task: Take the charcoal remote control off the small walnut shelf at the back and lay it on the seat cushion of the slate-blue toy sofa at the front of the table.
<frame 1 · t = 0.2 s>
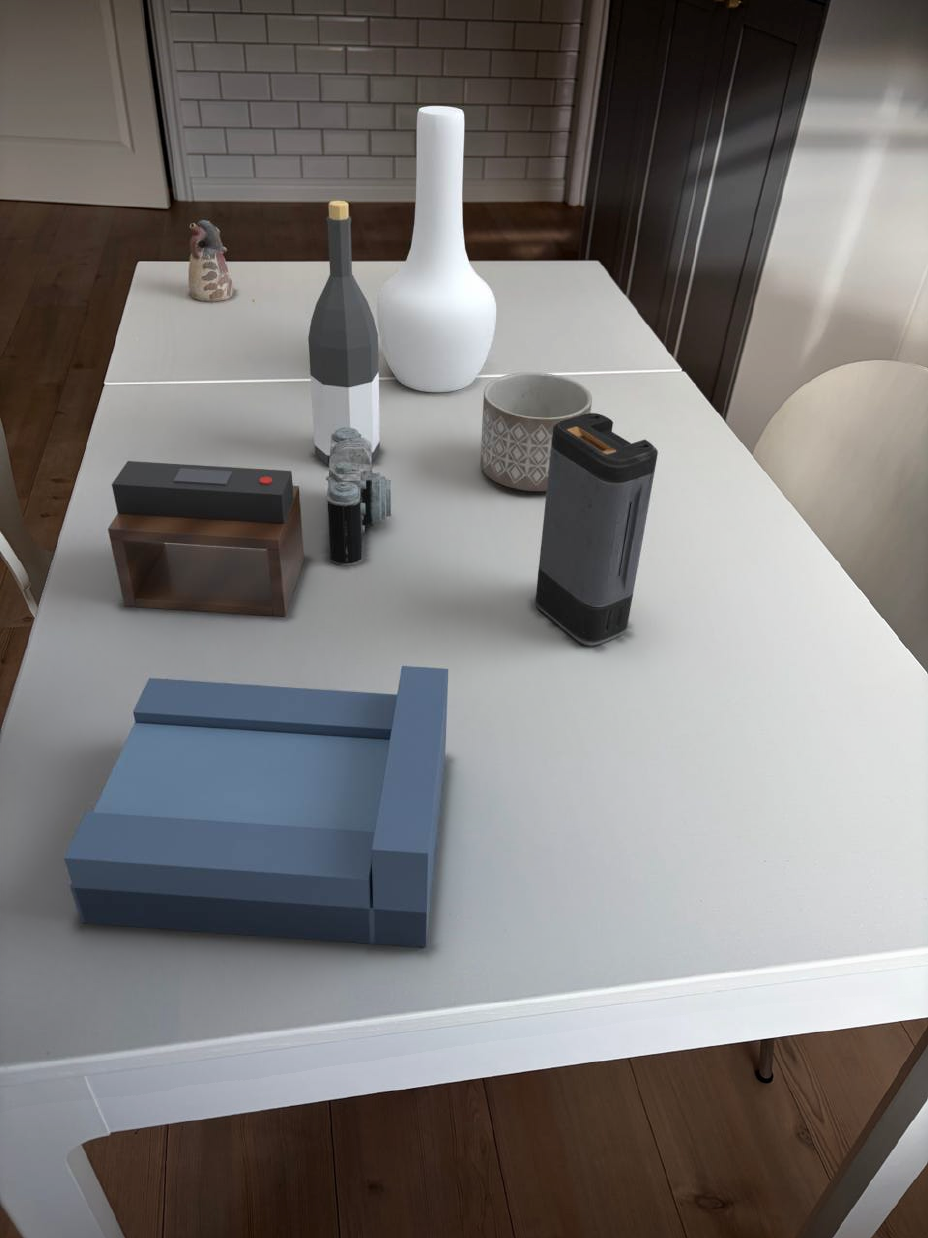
wine bottle: (347, 455, 124), on the table
camera: (360, 529, 111), on the table
sofa: (279, 834, 75), on the table
planter: (530, 474, 122), on the table
figurine: (212, 295, 167), on the table
electronic device: (579, 618, 99), on the table
remote: (207, 506, 96), point 9 cm above the table, touching shelf
shelf: (217, 582, 101), on the table
vase: (435, 377, 144), on the table
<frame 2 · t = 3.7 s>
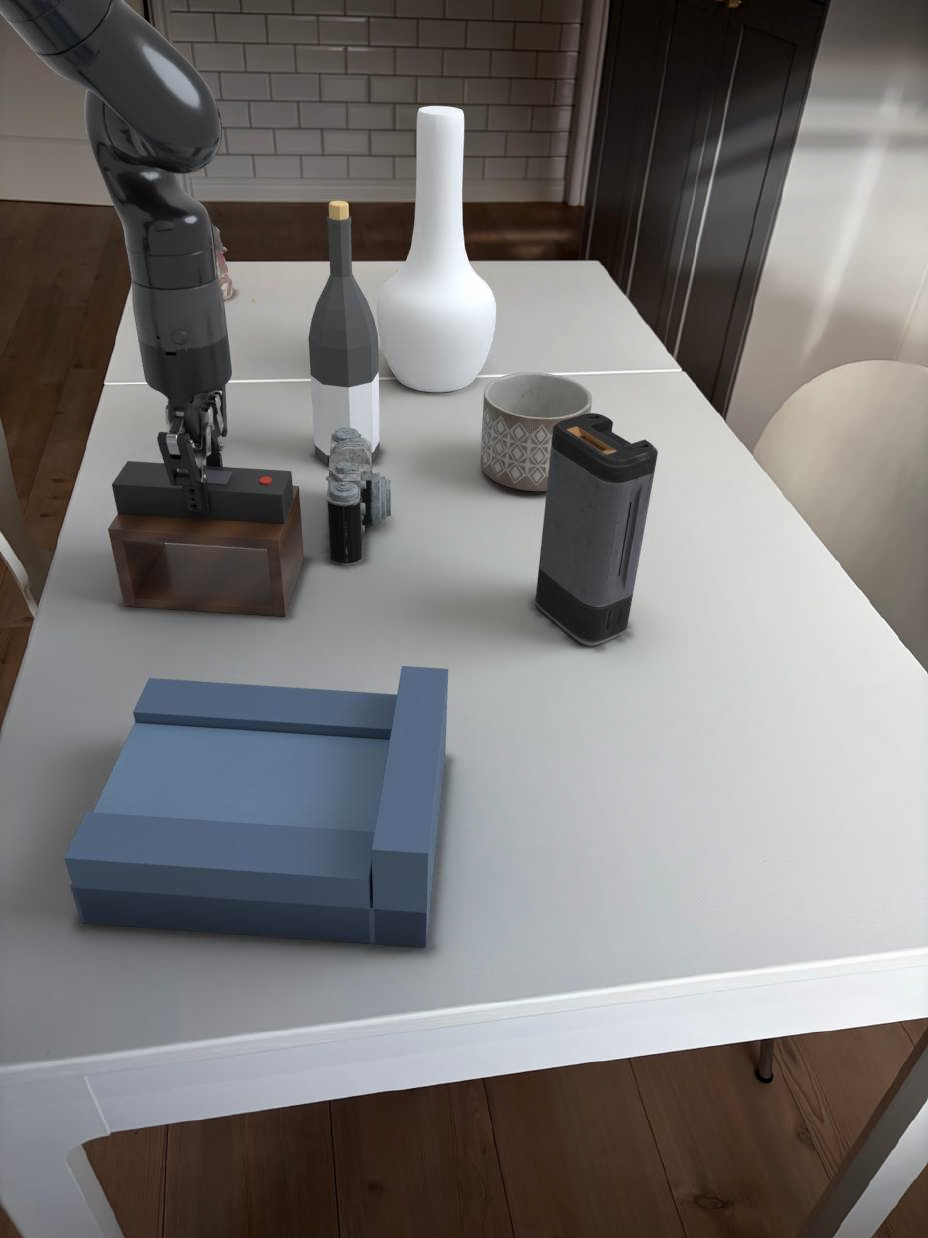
hand: (206, 499, 95), 10 cm above the table, tool pointing down, fingers closed on remote, 4 cm apart
remote: (207, 506, 96), point 9 cm above the table, touching gripper, shelf
everything else where it was.
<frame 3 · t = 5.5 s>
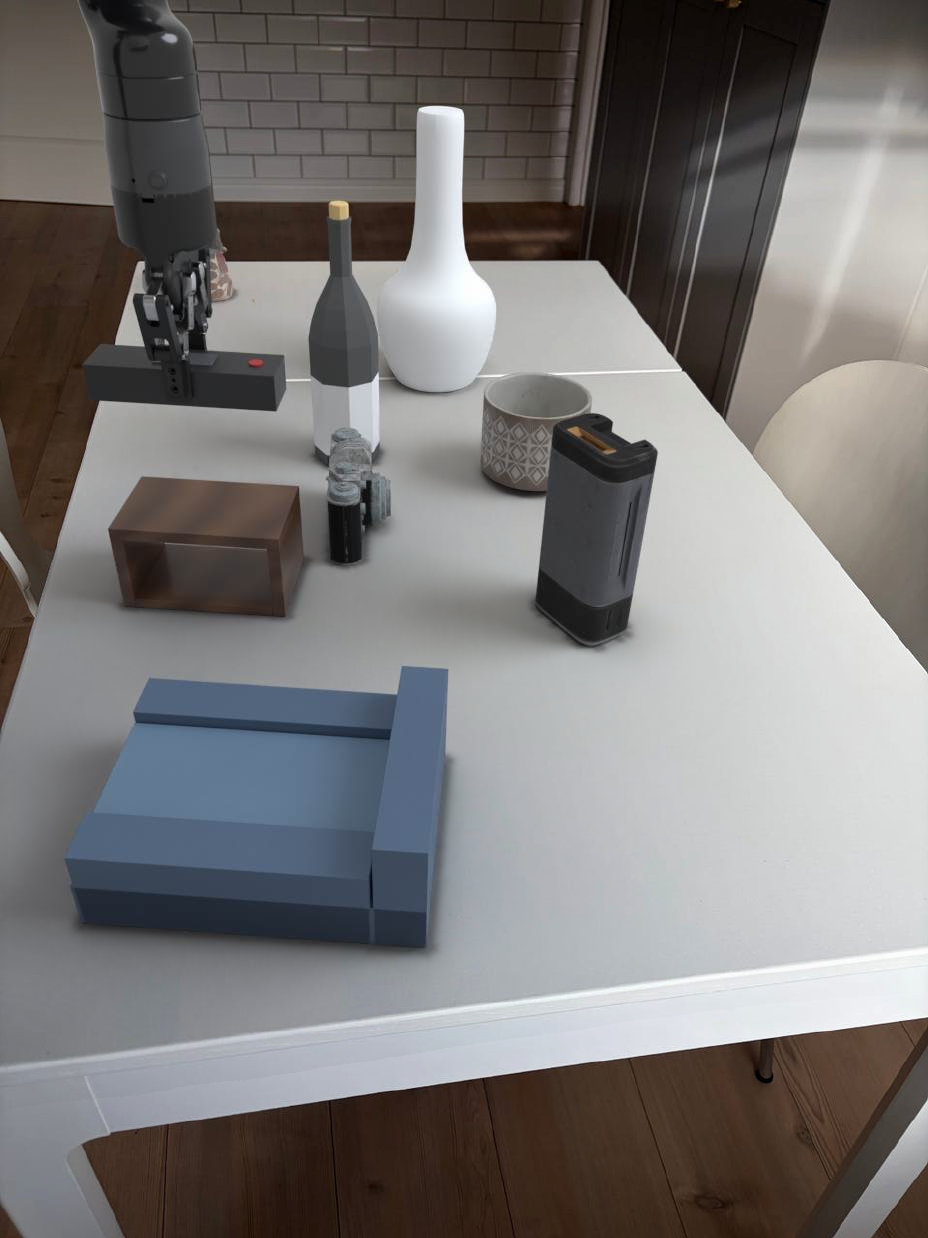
hand: (188, 386, 85), 23 cm above the table, tool pointing down, fingers closed on remote, 4 cm apart
remote: (189, 394, 86), point 22 cm above the table, touching gripper
everything else where it was.
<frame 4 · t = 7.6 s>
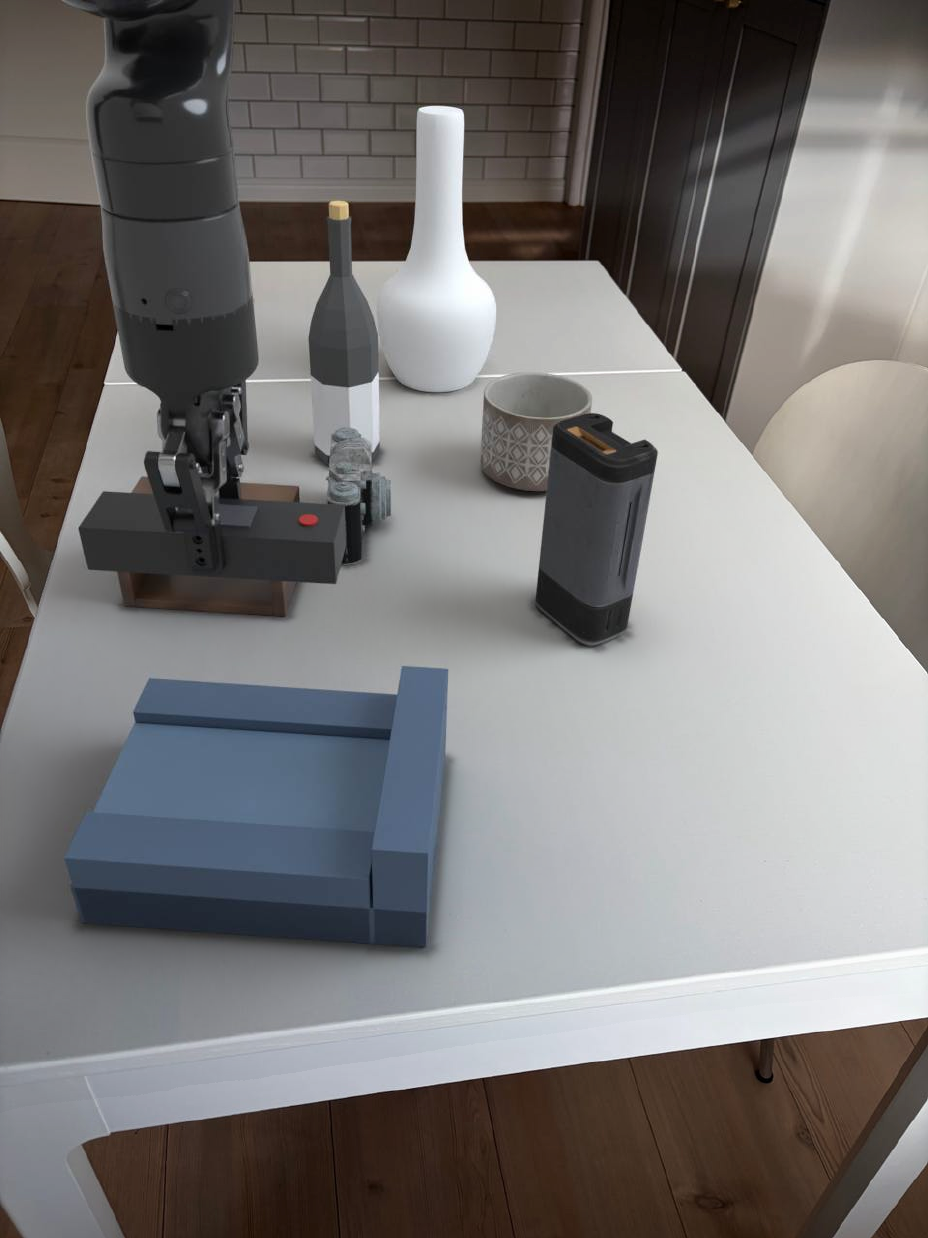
hand: (218, 548, 65), 23 cm above the table, tool pointing down, fingers closed on remote, 4 cm apart
remote: (220, 557, 65), point 22 cm above the table, touching gripper
everything else where it was.
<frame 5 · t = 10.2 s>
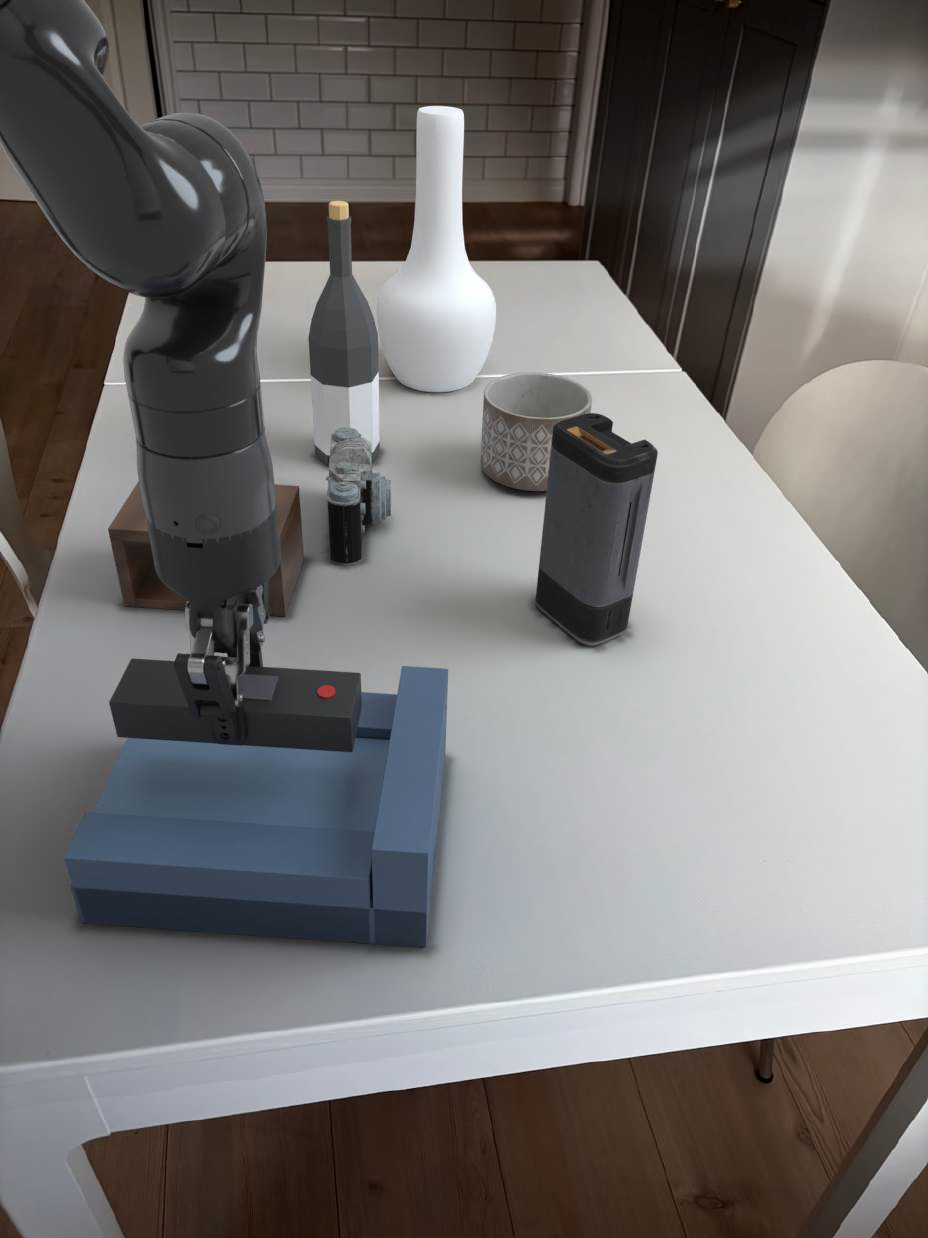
hand: (240, 714, 68), 12 cm above the table, tool pointing down, fingers closed on remote, 4 cm apart
remote: (242, 721, 69), point 12 cm above the table, touching gripper
everything else where it was.
when the fingers open (7 cm above the table, at t = 12.0 s): remote stays where it is, resting on sofa.
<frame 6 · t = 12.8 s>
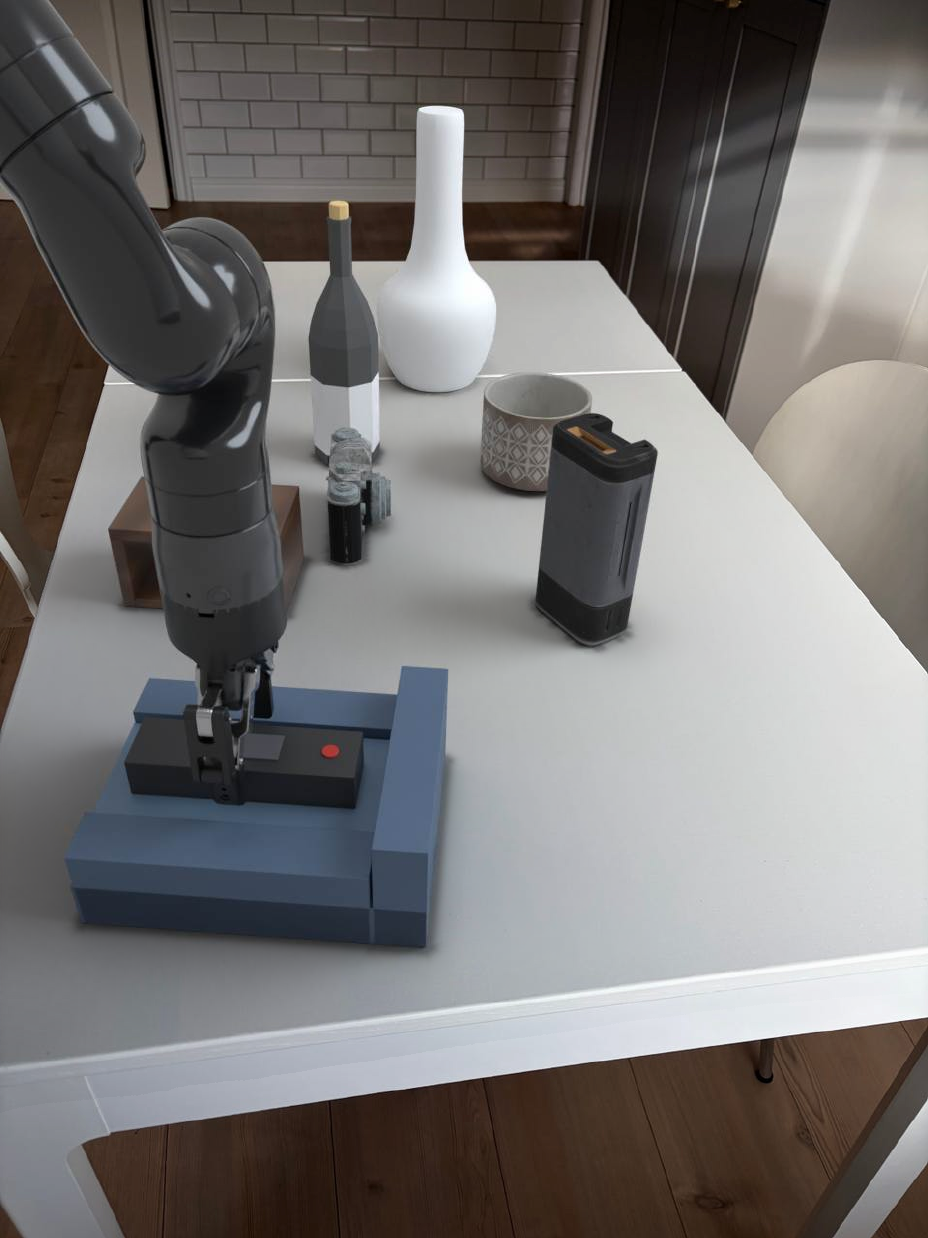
hand: (245, 756, 71), 8 cm above the table, tool pointing down, fingers open, 8 cm apart
remote: (250, 778, 72), point 6 cm above the table, touching sofa
everything else where it was.
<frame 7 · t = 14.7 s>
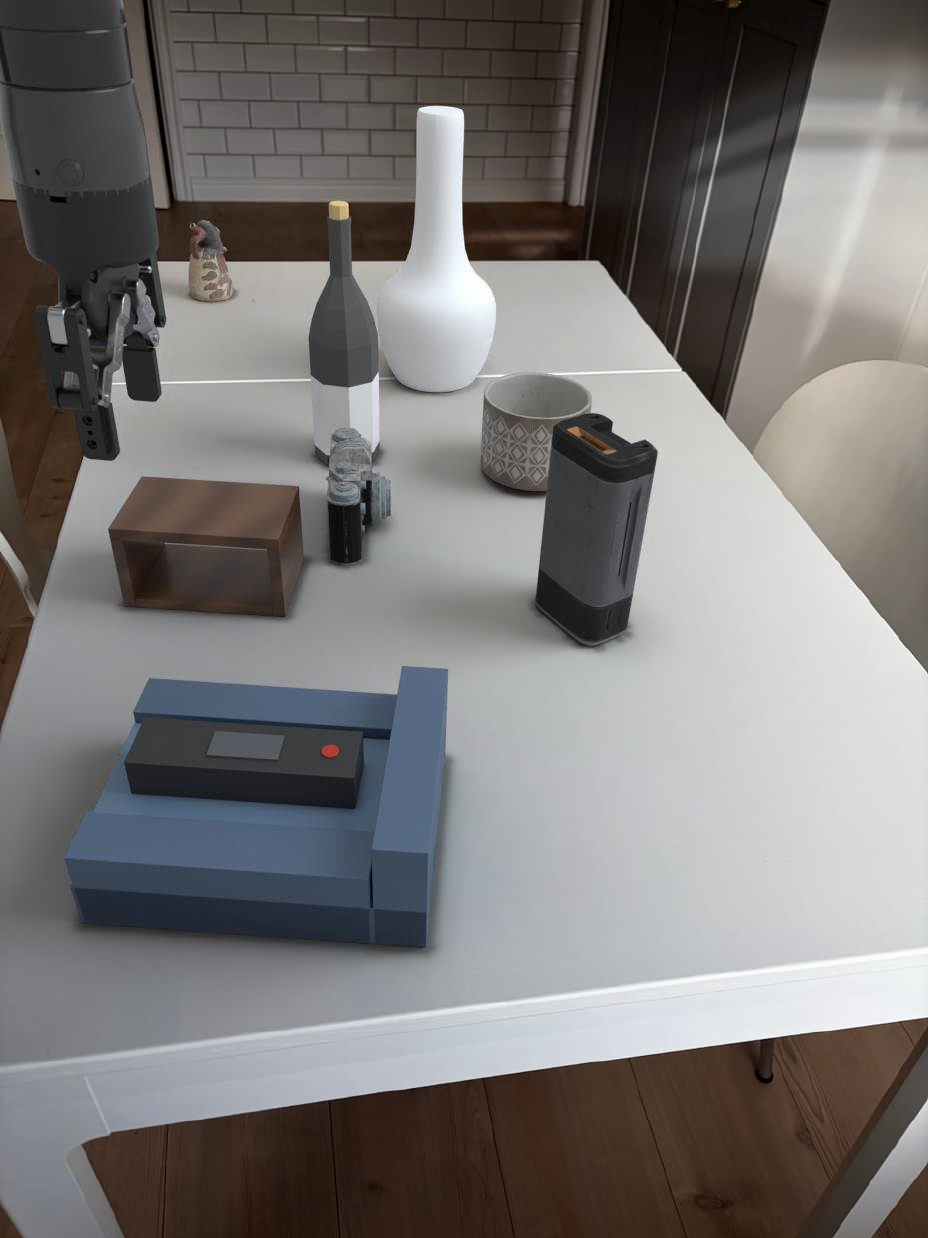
hand: (125, 426, 66), 29 cm above the table, tool pointing down, fingers open, 8 cm apart
nothing on the table moved.
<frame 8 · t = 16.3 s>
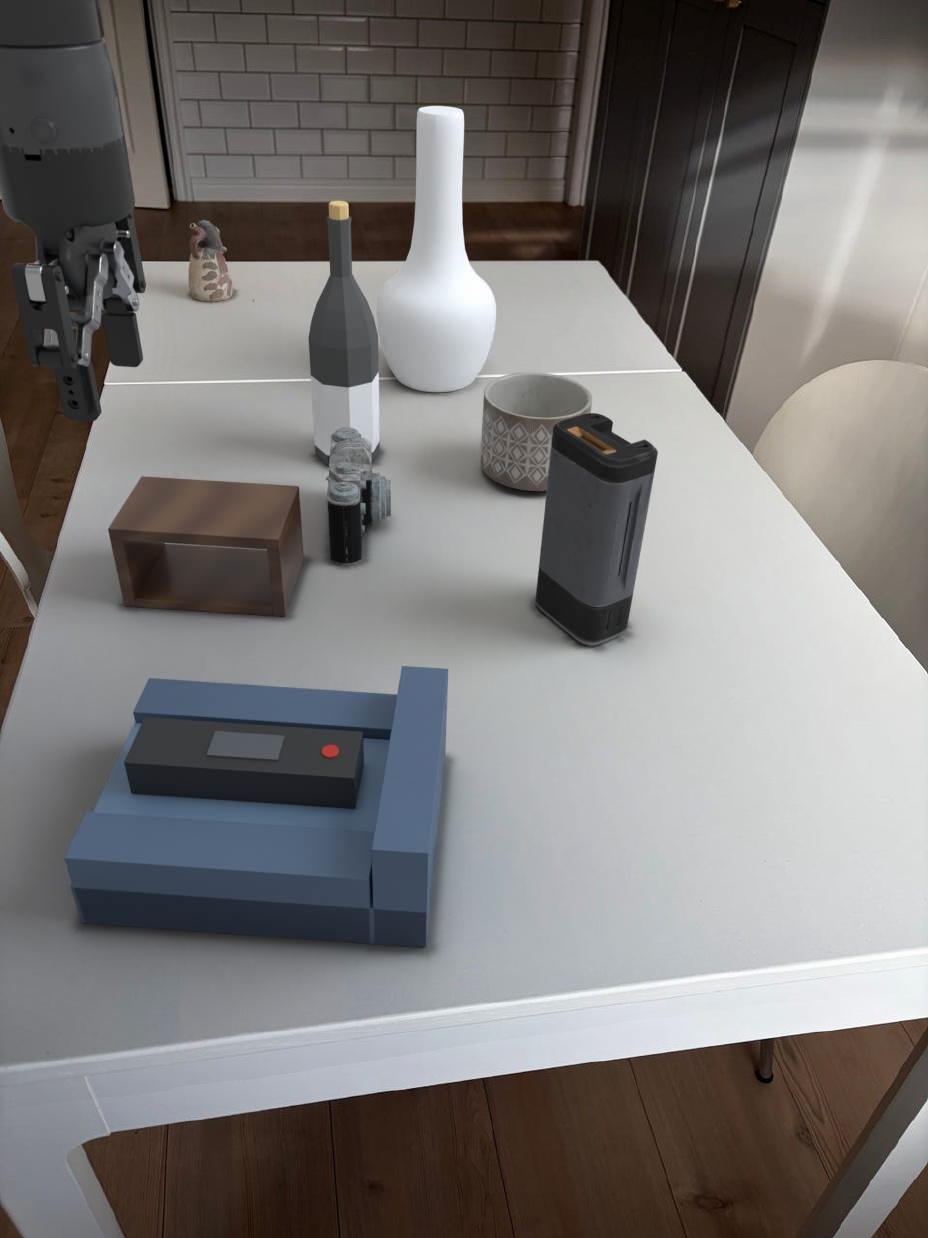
hand: (106, 390, 67), 30 cm above the table, tool pointing down, fingers open, 8 cm apart
nothing on the table moved.
at the end: remote inside the target area on the sofa (0.1 cm from its centre), point 6.0 cm above the sofa's base; remote tilted 0°; the gripper is holding nothing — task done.
